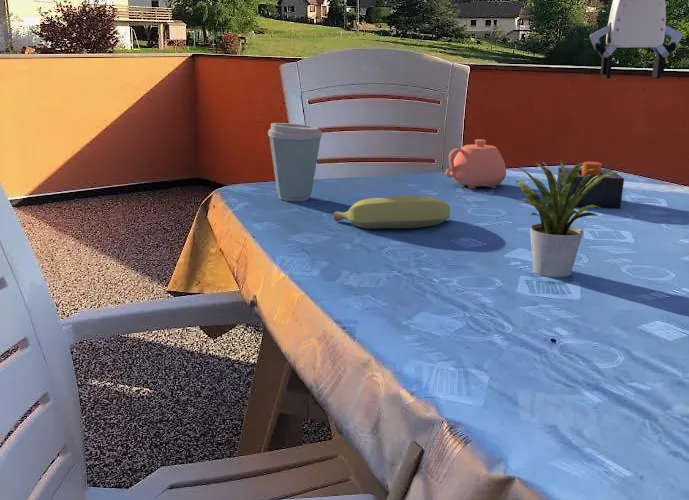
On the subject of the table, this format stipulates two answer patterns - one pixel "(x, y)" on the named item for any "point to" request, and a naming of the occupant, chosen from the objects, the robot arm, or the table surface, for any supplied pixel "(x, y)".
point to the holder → (598, 189)
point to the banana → (396, 212)
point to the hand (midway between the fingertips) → (631, 78)
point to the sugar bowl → (477, 165)
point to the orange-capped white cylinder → (591, 166)
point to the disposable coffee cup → (294, 159)
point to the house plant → (557, 221)
